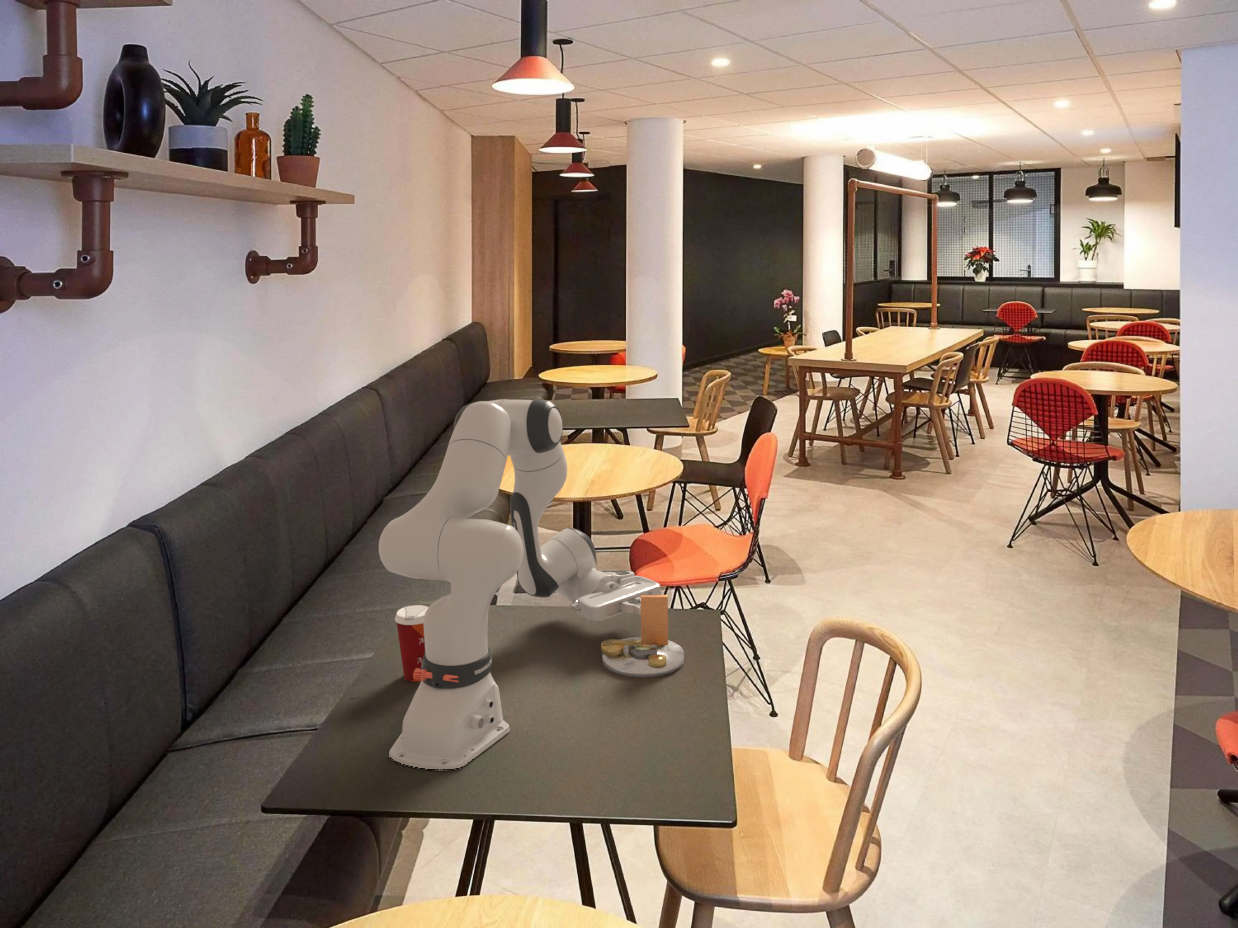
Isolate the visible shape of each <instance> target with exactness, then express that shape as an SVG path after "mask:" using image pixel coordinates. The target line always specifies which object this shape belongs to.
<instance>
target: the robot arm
mask: <svg viewBox="0 0 1238 928" xmlns="http://www.w3.org/2000/svg"><path fill="white" fill-rule="evenodd" d="M563 424H564V421H563V417H562V413H561V411H560V409H559V408H558V407H557V405H555V404H554V403H553V402H552V401H549V400H545V399H540V398H535V399H533V400H532V399H508V398H506V399H505V398H504V399H503V398H502V399H496V400H495V399H494V400H486V401H484V400H482V401H481V400H480V401H475V402H471V403H468V404H465V405H464V406H462V407H461V408H460V410H459V411H458V412H457V413H456V416H454V422H453V431H452V434H451V437H450V439H449V442H448V445H447V449H446V451H445V454H444V455H445V456H444V459H443V461H442V464H441V467H440V469H439V472H438V474H437V477H436V480H435V482H434V483H433V485H432V487H431V488H430V490H429V491H427V493H426V495H425V496H424V497H423V498H422V499H421V500H420V501H419V502H418V503H417V504H416V505H414V506H413V508H411V509H410V510H408V511H407V512H406V513H404V514H402V515H401V516H399V517H396V518H394V519H392V520H391V521H389V522H388V523H387V525H386V526H385V527H384V528H383V530H382V532H381V534H380V537H379V541H378V555H379V559H380V561H381V563H382V564H383V566H384V568H385V569H386V570H387V572H390V573H393V574H396V575H400V576H403V577H406V578H411V579H418V580H420V579H421V580H431V581H432V580H433V581H445V582H450V583H449V584H450V589H451V590H450V593H449V594H447V595H445V596H442V597H441V598H439V599H437V600H435V601H434V602H433V603H431V604H430V605H429V606H428V607H429V608H428V609H427V611H426V613H425V615H424V619H423V626H424V640H425V654H424V657H423V662H422V669H419V668H416V669H415V670H414V673H413V677H414V680H421V682H419V685H418V687H417V689H416V691H415V694H414V695H413V698H412V700H411V703H410V704H409V706H408V709H407V710H406V713H405V715H404V717H403V720H402V731H401V733H400V735H399V736H398V738H397V739H396V740H395V742H394V743H393V745H392V747H391V748H390V750H389V752H388V753H389V754H388V757H389V758H390V757H391V758H392V759H393V760H392V759H391V758H390V759H391V760H392V761H394V760H395V761H397V762H400V763H401V764H400V763H399V764H400V765H403V764H405V765H404V766H406V765H409V766H408V767H410V766H413V767H412V768H415V767H418V768H417V769H420V768H425V769H424V770H427V769H439V770H438V771H443V770H442V769H454V768H459V769H461V768H460V767H462V766H463V767H465V766H466V765H467V764H469V763H470V762H471V761H472V759H473V760H474V759H476V758H477V757H478V756H479V755H480V754H483V752H484V751H485V750H486V751H487V749H489V748H490V747H491V746H493V745H494V744H495V743H496V742H498V741H499V740H501V739H502V738H503V737H504V736H506V735H507V734H508V733H510V725H509V724H508V723H507V721H505V720H504V718H503V709H502V703H501V696H500V695H501V694H500V689H499V688H500V687H499V686H498V684H497V683H496V681H495V679H494V677H493V676H492V673H491V671H492V670H493V669H492V667H493V666H492V664H493V663H492V662H493V658H492V657H493V656H492V654H491V649H490V647H489V643H488V642H489V641H488V639H489V638H488V634H489V633H488V627H489V626H488V619H489V610H490V606H491V603H492V600H493V598H494V597H495V594H496V593H497V592H498V590H499V589H500V588H501V587H502V586H503V585H504V584H505V583H506V582H508V581H510V580H511V579H512V578H513V577H515V575H516V578H517V581H518V584H519V585H520V587H521V588H522V590H523V591H524V592H525V593H526V594H527V595H529V596H530V597H531V596H532V597H534V598H550V597H551V596H552V595H553V594H554V593H556V594H557V595H558V596H560V597H562V598H564V599H565V600H568V601H569V602H571V603H570V605H569V608H570V609H571V610H573V611H574V612H577V614H578V615H579V616H580V617H581V618H582V619H584V620H586V621H588V622H590V623H600V622H602V621H605V620H608V619H611V618H614V617H617V616H618V615H623V614H634V615H638V616H641V595H662V588H661V587H662V586H661V585H660V583H658V582H657V581H654V580H652V579H650V578H648V577H646V576H645V577H644V576H641V575H635V572H634V571H631V570H626V571H616V572H615V571H614V572H613V571H605V572H604V571H601V570H598V569H597V563H598V562H597V550H596V548H595V544H594V543H593V541H592V539H591V537H589V536H588V534H586V533H584V532H582V531H581V530H579V529H578V528H577V529H576V528H574V527H566V528H564V529H563V530H561V531H559V532H558V533H557V534H555V535H554V536H552V537H551V538H550V539H549V540H548V541H546V542H544V544H542V545H541V542H540V535H539V524H540V520H541V518H542V516H543V514H544V512H545V510H546V509H547V507H548V506H549V505H550V504H551V502H552V501H553V500H554V498H555V497H556V496H557V495H558V494H559V493H560V492H561V490H562V488H563V486H564V485H565V483H566V481H567V477H568V463H567V458H566V456H565V451H564V447H563V445H562V443H561V440H562V438H563V431H564V428H563V426H564V425H563ZM508 456H510V459H511V462H512V466H513V470H514V471H513V472H514V485H513V491H512V494H511V496H510V499H509V513H510V514H509V515H510V521H511V525H510V524H506V523H503V522H500V521H494V520H493V519H492V520H491V519H486V518H485V519H484V518H482V519H479V518H471V517H472V516H473V515H476V514H478V513H479V512H481V511H484V510H486V509H487V508H489V507H490V506H492V504H493V503H494V502H495V500H496V499H497V497H498V495H499V491H500V488H501V484H502V481H503V480H502V479H503V476H504V474H505V473H504V471H505V468H506V464H507V460H508ZM395 761H394V762H395ZM397 762H396V763H397ZM468 762H469V763H468ZM463 767H462V768H463ZM440 769H441V770H440ZM454 770H455V769H454Z"/></svg>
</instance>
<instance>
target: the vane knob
mask: <svg viewBox="0 0 1238 928" xmlns="http://www.w3.org/2000/svg"><path fill="white" fill-rule="evenodd" d="M668 598H669V597H668V594H661V595H641V614H640V622H641V623H640V624H641V625H640V626H641V627H640V630H641V631H640V633H641V635H640V637H641V640H621V639H616V638H612V639H611V638H609V639H606V640H603V641H601V643H600V645H601V646H600V647H601V649H600V650H601V651H600V652H601V654H604V655H606V656H618V655H621V654H623V653H624V645H668V640H669V616H668V615H669V611H668V610H669V609H668V608H669V607H668V605H669V604H668V602H669V600H668Z"/></svg>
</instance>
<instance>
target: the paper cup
mask: <svg viewBox="0 0 1238 928" xmlns="http://www.w3.org/2000/svg"><path fill="white" fill-rule="evenodd" d="M428 608H429V606H427V605H424V604H423V605H421V604H417V605H408V606H404V607H401V608H399V609H398V610H397V612H396V615H395V616H394V617H395V618H394V621H395V623H396V628H397V629H396V630H397V636H398V642H399V643H398V644H399V648H400V649H399V651H400V656H401V657H400V658H401V663H402V664H401V665H402V671H403V678H404V680H405V681H407V682H411V683H421V680H414V677H413V673H414V670H415V669H416V668H419V669H422V662H423V657H424V654H425V640H424V626H423V619H424V615H425V613H426V611H427V609H428Z"/></svg>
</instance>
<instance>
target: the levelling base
mask: <svg viewBox="0 0 1238 928" xmlns="http://www.w3.org/2000/svg"><path fill="white" fill-rule="evenodd" d="M620 640H641V636H633V637H626V638H622V639H620ZM601 654H602V653H601ZM601 658H602V660H601V661H602V665H603V666H604V667H605V668H606V669H607V670H608V671H609V672H612V673H614V674H616V675H618V676H624V677H629V678H638V679H647V678H649V679H650V678H657V677H663V676H665V675H670V674H672V673H675V672H676V671H677V670H679V669H680V668H681V667H682V666H683V665H684V661H685V651H684V649H683V648H682V647H681V646H680V645H679V644H677V643H676V642H674V641H671V640H669V639H668V645H624V653H623V654H621V655H618V656H606V655H604V654H602V657H601Z"/></svg>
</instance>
